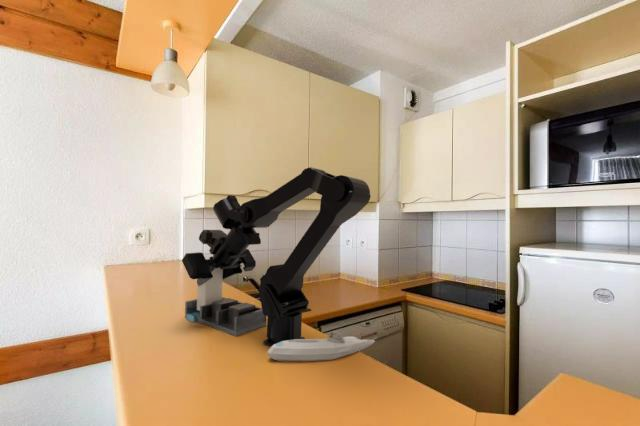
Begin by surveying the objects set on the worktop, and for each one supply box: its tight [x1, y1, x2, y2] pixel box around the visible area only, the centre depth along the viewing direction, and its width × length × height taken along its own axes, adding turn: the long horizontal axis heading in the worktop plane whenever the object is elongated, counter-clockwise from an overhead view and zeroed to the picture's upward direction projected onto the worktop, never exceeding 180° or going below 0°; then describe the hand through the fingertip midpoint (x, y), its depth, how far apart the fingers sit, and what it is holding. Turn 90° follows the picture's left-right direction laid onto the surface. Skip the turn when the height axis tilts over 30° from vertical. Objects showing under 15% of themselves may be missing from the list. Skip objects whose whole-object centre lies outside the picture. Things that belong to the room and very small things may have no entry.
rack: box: [184, 296, 267, 337], centre depth 78 cm, size 20×10×5 cm, turn 54°
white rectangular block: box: [196, 268, 224, 311], centre depth 82 cm, size 4×5×11 cm
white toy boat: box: [266, 330, 376, 362], centre depth 61 cm, size 23×7×4 cm, turn 114°
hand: (207, 282), depth 82 cm, fingers closed on white rectangular block, 5 cm apart
